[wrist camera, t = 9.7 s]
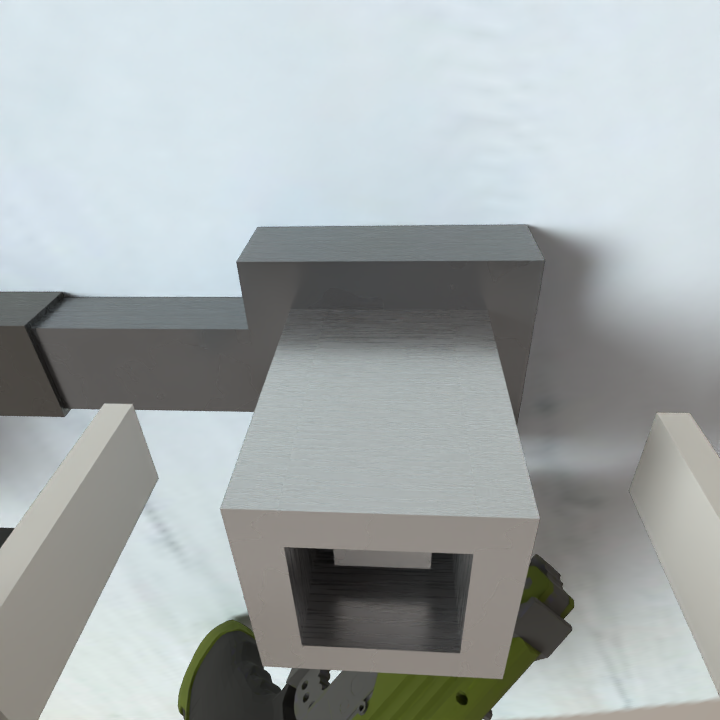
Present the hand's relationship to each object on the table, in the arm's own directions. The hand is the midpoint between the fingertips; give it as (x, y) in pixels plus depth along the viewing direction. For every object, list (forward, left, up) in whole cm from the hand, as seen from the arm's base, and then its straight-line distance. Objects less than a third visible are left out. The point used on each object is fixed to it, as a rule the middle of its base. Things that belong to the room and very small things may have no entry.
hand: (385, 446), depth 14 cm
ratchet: (0, 0, -5) cm, 5 cm away
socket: (0, 0, -3) cm, 3 cm away
